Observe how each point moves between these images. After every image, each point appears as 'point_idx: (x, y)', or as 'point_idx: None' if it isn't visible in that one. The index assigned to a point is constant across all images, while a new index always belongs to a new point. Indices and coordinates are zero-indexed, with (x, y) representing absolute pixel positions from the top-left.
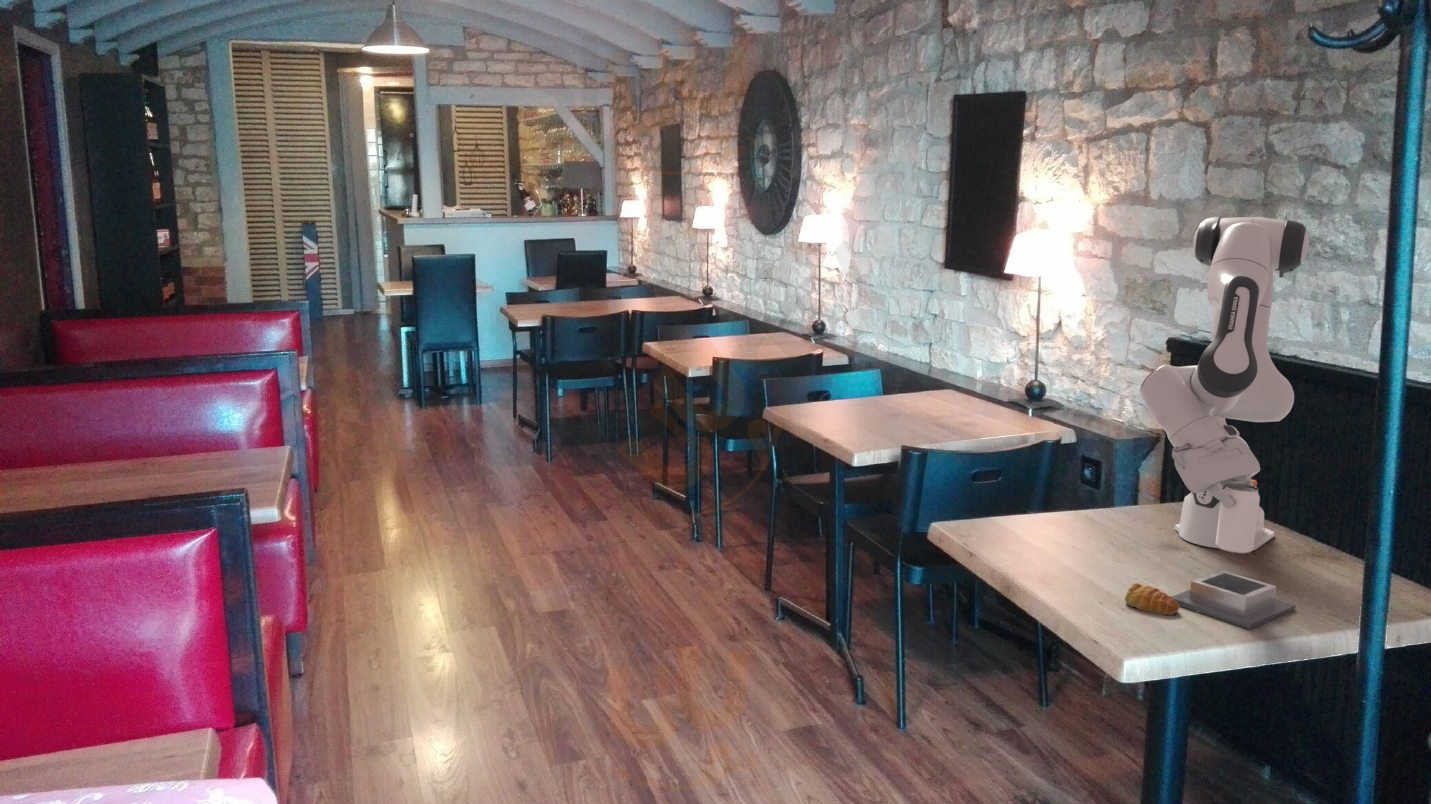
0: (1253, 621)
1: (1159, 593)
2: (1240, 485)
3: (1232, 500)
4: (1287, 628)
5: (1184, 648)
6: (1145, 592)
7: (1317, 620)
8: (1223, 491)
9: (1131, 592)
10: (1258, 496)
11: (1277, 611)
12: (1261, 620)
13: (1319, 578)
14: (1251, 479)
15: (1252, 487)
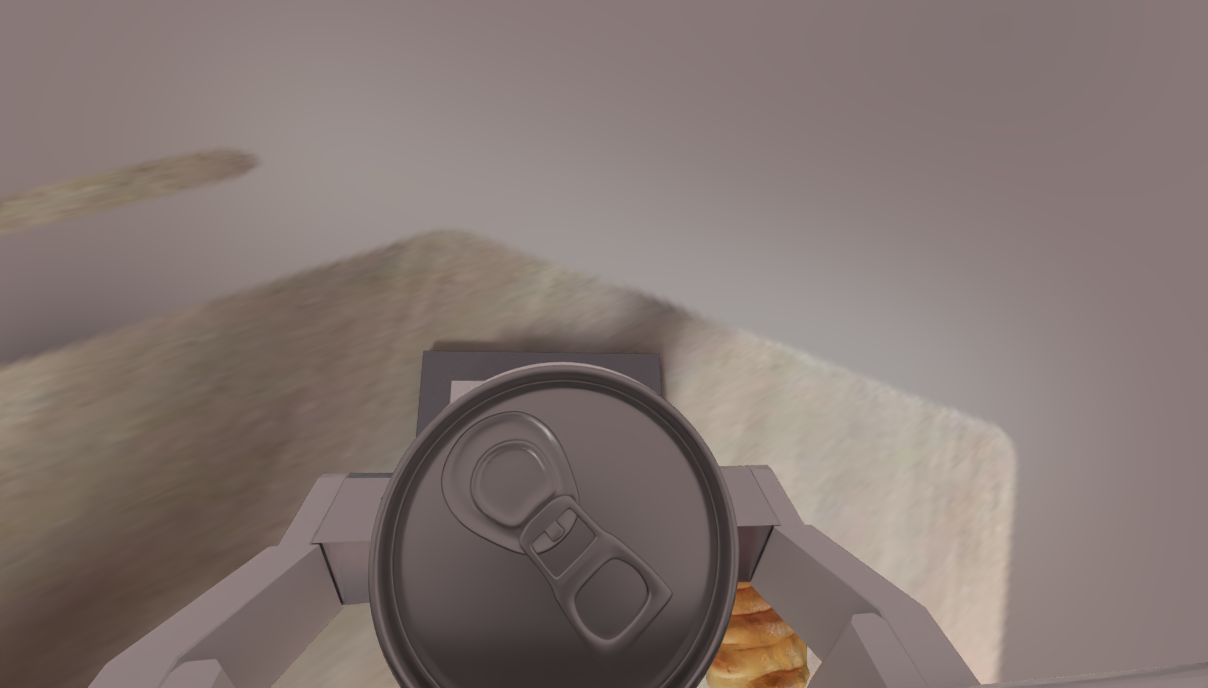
0: (635, 358)
1: (755, 598)
2: (406, 655)
3: (757, 483)
4: (569, 308)
5: (873, 387)
6: (790, 629)
7: (452, 288)
8: (863, 570)
9: (805, 669)
10: (528, 367)
11: (514, 356)
12: (604, 354)
13: (31, 448)
14: (109, 675)
15: (395, 501)
